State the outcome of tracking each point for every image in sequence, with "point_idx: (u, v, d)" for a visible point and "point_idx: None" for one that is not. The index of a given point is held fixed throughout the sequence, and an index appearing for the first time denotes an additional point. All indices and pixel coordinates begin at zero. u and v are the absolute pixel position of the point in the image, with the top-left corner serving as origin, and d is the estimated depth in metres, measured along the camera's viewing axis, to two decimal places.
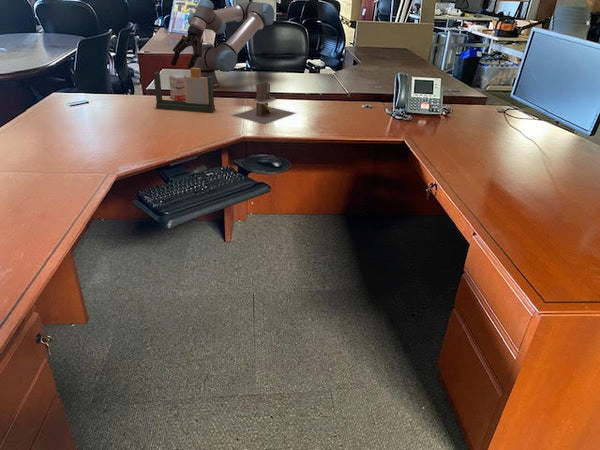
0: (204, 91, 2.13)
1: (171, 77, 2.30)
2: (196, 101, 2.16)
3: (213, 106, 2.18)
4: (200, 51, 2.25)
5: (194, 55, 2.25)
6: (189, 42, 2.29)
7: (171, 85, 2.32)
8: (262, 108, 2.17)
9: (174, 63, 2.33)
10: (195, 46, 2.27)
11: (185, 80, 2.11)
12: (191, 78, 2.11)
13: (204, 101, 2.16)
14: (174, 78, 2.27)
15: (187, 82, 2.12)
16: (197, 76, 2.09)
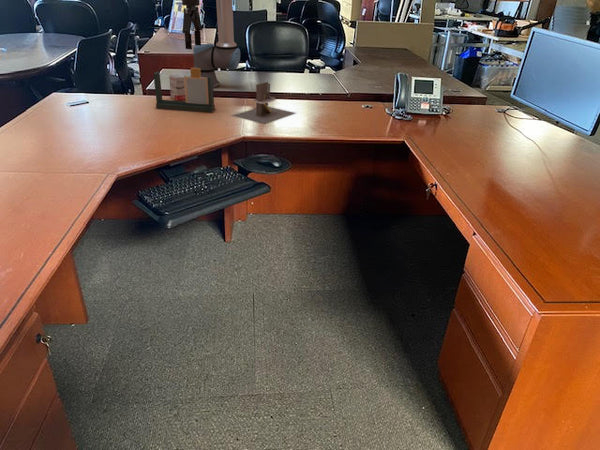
0: (204, 91, 2.13)
1: (171, 77, 2.30)
2: (196, 101, 2.16)
3: (213, 106, 2.18)
4: (185, 26, 1.92)
5: None
6: None
7: (171, 85, 2.32)
8: (262, 108, 2.17)
9: (198, 42, 2.09)
10: None
11: (185, 80, 2.11)
12: (191, 78, 2.11)
13: (204, 101, 2.16)
14: (174, 78, 2.27)
15: (187, 82, 2.12)
16: (197, 76, 2.09)
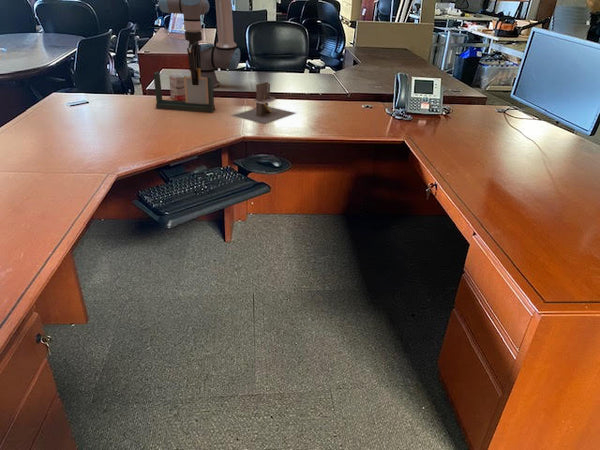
0: (204, 91, 2.13)
1: (171, 77, 2.30)
2: (196, 101, 2.16)
3: (213, 106, 2.18)
4: (191, 65, 2.03)
5: None
6: None
7: (171, 85, 2.32)
8: (262, 108, 2.17)
9: None
10: None
11: (185, 80, 2.11)
12: (191, 78, 2.11)
13: (204, 101, 2.16)
14: (174, 78, 2.27)
15: (187, 82, 2.12)
16: None
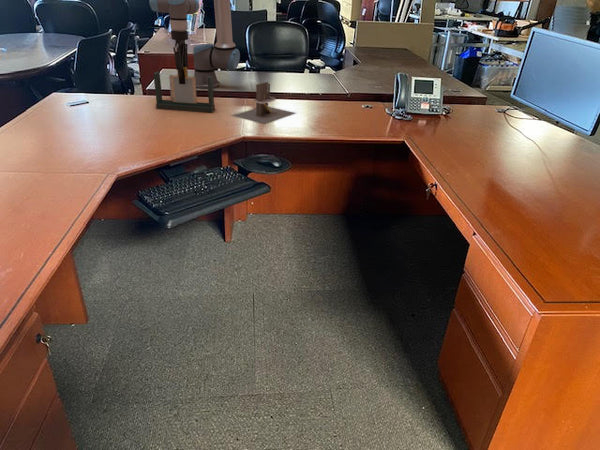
0: (191, 90, 2.14)
1: None
2: (183, 100, 2.16)
3: (213, 106, 2.18)
4: (178, 64, 2.04)
5: None
6: None
7: (171, 85, 2.32)
8: (262, 108, 2.17)
9: None
10: None
11: (172, 79, 2.12)
12: (178, 77, 2.11)
13: (191, 100, 2.16)
14: None
15: (174, 81, 2.12)
16: None
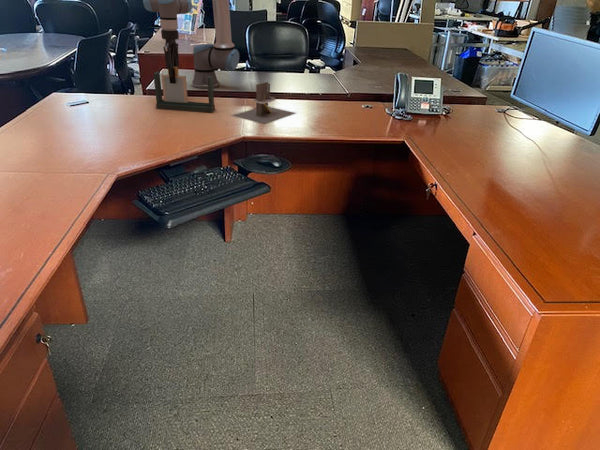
0: (182, 89, 2.14)
1: None
2: (174, 99, 2.17)
3: (213, 106, 2.18)
4: (168, 63, 2.04)
5: None
6: None
7: None
8: (262, 108, 2.17)
9: None
10: None
11: (163, 78, 2.12)
12: None
13: (182, 99, 2.16)
14: None
15: (165, 80, 2.13)
16: None
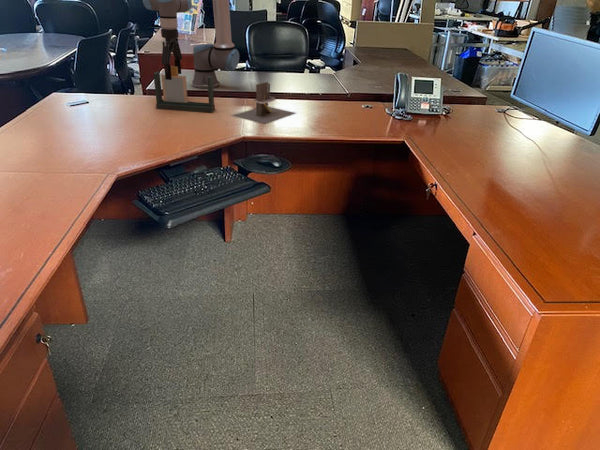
0: (182, 89, 2.14)
1: None
2: (174, 99, 2.17)
3: (213, 106, 2.18)
4: (164, 58, 1.99)
5: None
6: None
7: None
8: (262, 108, 2.17)
9: (178, 71, 2.17)
10: None
11: (163, 78, 2.12)
12: None
13: (182, 99, 2.16)
14: None
15: (165, 80, 2.13)
16: (174, 74, 2.10)
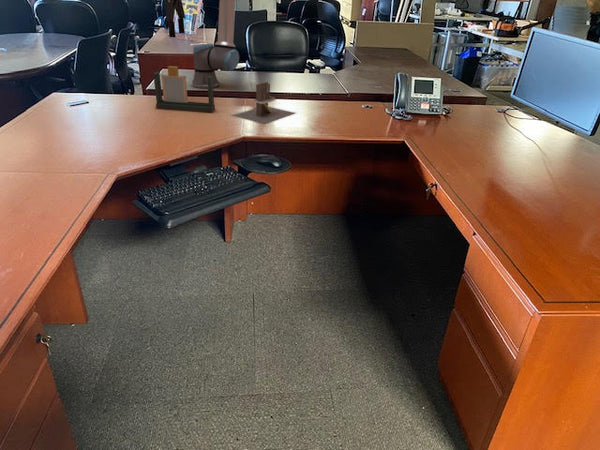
0: (182, 89, 2.14)
1: None
2: (174, 99, 2.17)
3: (213, 106, 2.18)
4: (168, 14, 1.99)
5: None
6: None
7: None
8: (262, 108, 2.17)
9: (181, 30, 2.17)
10: None
11: (163, 78, 2.12)
12: (168, 76, 2.11)
13: (182, 99, 2.16)
14: None
15: (165, 80, 2.13)
16: (174, 74, 2.10)
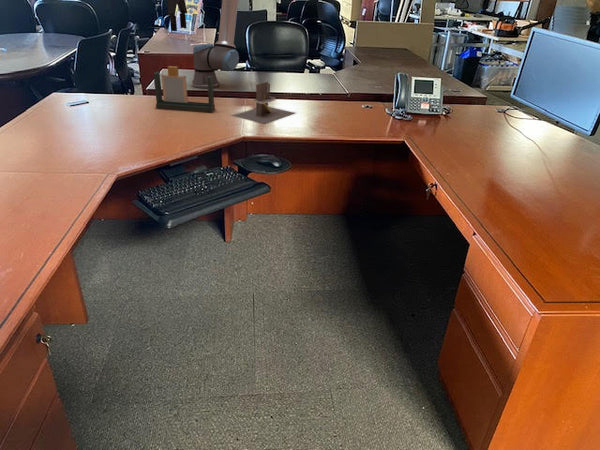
0: (182, 89, 2.14)
1: None
2: (174, 99, 2.17)
3: (213, 106, 2.18)
4: (170, 8, 2.01)
5: None
6: None
7: None
8: (262, 108, 2.17)
9: (183, 25, 2.19)
10: None
11: (163, 78, 2.12)
12: (168, 76, 2.11)
13: (182, 99, 2.16)
14: None
15: (165, 80, 2.13)
16: (174, 74, 2.10)
